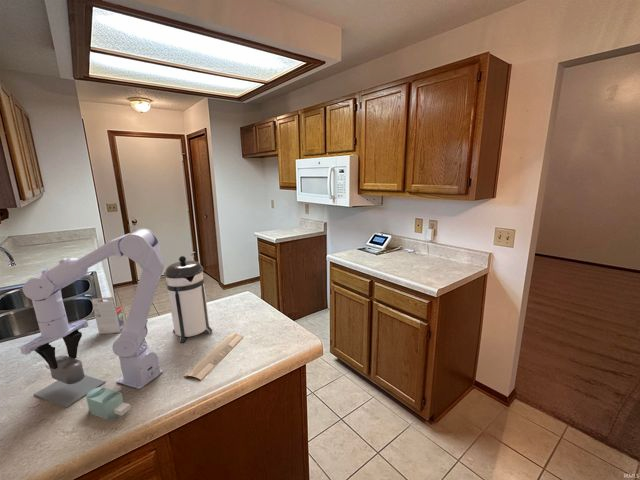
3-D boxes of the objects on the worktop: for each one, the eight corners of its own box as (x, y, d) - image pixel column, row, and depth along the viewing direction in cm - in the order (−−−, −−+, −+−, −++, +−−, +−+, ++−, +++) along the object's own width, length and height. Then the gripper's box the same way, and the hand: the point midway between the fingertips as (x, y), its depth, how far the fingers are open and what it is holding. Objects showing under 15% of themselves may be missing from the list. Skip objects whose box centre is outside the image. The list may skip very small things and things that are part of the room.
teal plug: (85, 411, 76) (82, 396, 75) (101, 400, 79) (98, 385, 78) (119, 424, 71) (116, 408, 70) (134, 411, 75) (131, 396, 74)
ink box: (104, 329, 116) (96, 294, 112) (125, 328, 116) (119, 293, 113) (98, 334, 112) (90, 298, 109) (120, 333, 113) (113, 297, 110)
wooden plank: (229, 336, 109) (228, 332, 109) (246, 339, 107) (245, 334, 107) (183, 379, 87) (183, 374, 87) (204, 383, 85) (203, 378, 85)
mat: (105, 382, 86) (105, 381, 86) (66, 408, 77) (66, 406, 77) (74, 372, 91) (73, 371, 91) (33, 395, 82) (33, 394, 82)
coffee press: (222, 322, 118) (214, 250, 111) (199, 345, 103) (188, 263, 96) (183, 320, 121) (172, 249, 114) (155, 342, 106) (141, 261, 99)
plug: (88, 376, 83) (85, 362, 82) (72, 385, 79) (68, 371, 78) (60, 366, 87) (56, 352, 86) (43, 374, 83) (40, 360, 82)
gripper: (72, 304, 87) (82, 345, 90) (7, 328, 74) (22, 376, 77) (88, 307, 84) (98, 349, 87) (24, 333, 71) (38, 382, 74)
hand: (63, 362), depth 82 cm, fingers closed on plug, 4 cm apart
